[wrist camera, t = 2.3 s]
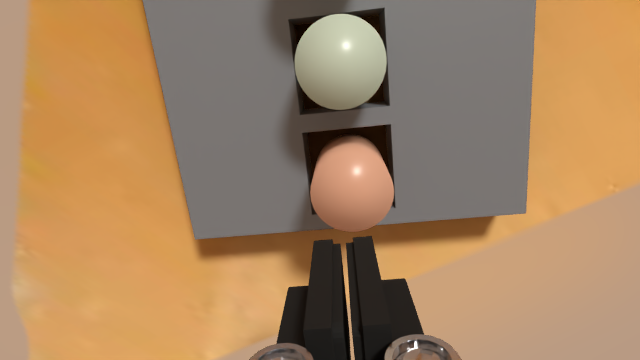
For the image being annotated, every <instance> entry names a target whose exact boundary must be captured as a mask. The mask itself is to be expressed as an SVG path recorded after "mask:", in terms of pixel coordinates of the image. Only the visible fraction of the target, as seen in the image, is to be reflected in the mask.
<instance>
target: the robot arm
mask: <svg viewBox="0 0 640 360" xmlns="http://www.w3.org/2000/svg"><path fill="white" fill-rule="evenodd" d="M346 249H347V264H348V279H349V294H350V309H351V323H352V335H353V346H354V355H355V360H462V359H461V358H460V356H459V355H458V353H457V352H456V351H455V350H454V349H453V348H452V347H451V346H450V345H449V344H448V343H446V342H444V341H443V340H441V339H438V338H435V337H433V336H429V335H424V333H423V330H422V327H421V324H420V321H419V318H418V315H417V312H416V309H415V306H414V303H413V300H412V297H411V294H410V291H409V288H408V285H407V282H406V280H405V279H391V280H381V276H380V272H379V267H378V263H377V258H376V254H375V249H374V245H373V240H372V236H367V237H355V238H353V243H346ZM249 360H351V355H350V337H349V325H348V315H347V304H346V295H345V285H344V275H343V265H342V255H341V246H340V244H333V239H331V240H319V241H314V245H313V253H312V261H311V270H310V278H309V286H298V287H289V288H288V292H287V296H286V301H285V306H284V311H283V315H282V320H281V325H280V330H279V334H278V339H277V344H275V345H271V346H268V347H266V348H264V349H262V350H260V351H258V352H257V353H256V354H255V355H254V356H252V357H251V358H250V359H249Z"/></svg>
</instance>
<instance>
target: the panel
mask: <svg viewBox="0 0 640 360" xmlns="http://www.w3.org/2000/svg"><path fill="white" fill-rule="evenodd" d="M143 4H144V9H145V13H146V18H147V22H148V27H149V32H150V36H151V41H152V45H153V50H154V54H155V59H156V63H157V68H158V73H159V77H160V82H161V86H162V91H163V95H164V100H165V105H166V109H167V114H168V118H169V123H170V127H171V132H172V137H173V141H174V146H175V150H176V155H177V159H178V164H179V168H180V173H181V178H182V182H183V187H184V191H185V196H186V200H187V205H188V210H189V214H190V219H191V223H192V228H193V232H194V237H195V239H207V238H220V237H232V236H245V235H258V234H270V233H283V232H296V231H309V230H321V229H334V228H333V227H331V226H329V225H328V224H326V223H325V222H324V221H323V220H322V219H321V218H320V217H319V216H318V215H317V213H316V212H315V210H314V208H313V205H312V202H311V196H310V190H311V184H312V179H313V176H312V168H311V159H310V151H309V142H308V134H307V132H316V131H327V130H337V129H347V128H357V127H367V126H377V125H385V126H386V143H387V160H388V172H389V174H390V176H391V179H392V182H393V186H394V198H393V202H392V206H391V208H390V210H389V212H388V213H387V215H386V216H385V217H384V218H383V219H382V220H381V221H380V222H379V223H378V224H376V225H385V224H397V223H410V222H423V221H435V220H448V219H461V218H473V217H486V216H499V215H512V214H524V213H526V201H527V180H528V159H529V138H530V117H531V96H532V75H533V54H534V33H535V11H536V0H143ZM334 14H349V15H353V16H356V17H365V16H373V15H379V26H380V37H381V39H382V41H383V44H384V47H385V51H386V57H387V65H386V72H385V75H384V78H383V93H384V101H379V102H370V103H363V104H361V105H359V106H357V107H354V108H351V109H345V110H335V109H329V108H326V107H322V108H312V109H305V108H304V100H303V91H302V88H301V86H300V84H299V82H298V79H297V76H296V71H295V54H296V49H297V40H296V32H295V25H300V24H308V23H315V22H316V21H318V20H320V19H322V18H324V17H326V16H329V15H334Z"/></svg>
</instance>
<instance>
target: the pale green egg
mask: <svg viewBox="0 0 640 360" xmlns="http://www.w3.org/2000/svg"><path fill="white" fill-rule="evenodd" d="M386 65H387V57H386V51H385V47H384V44H383V41H382V39H381V37H380V36H379V34H378V33H377V31H376V30H375V29H374V28H373V27H372V26H371V25H370V24H369V23H368V22H366V21H365V20H363V19H361V18H359V17H356V16H353V15H349V14H334V15H329V16H326V17H324V18H322V19H320V20H318V21H316V22H315V23H313V24H312V25H311V26H310V27H309V28H308V29H307V30H306V31H305V33H304V34H303V36H302V37H301V39H300V41H299V43H298V46H297V49H296V54H295V71H296V76H297V79H298V82H299V84H300V86H301V88H302V89H303V91H304V92H305V93H306V95H307V96H308V97H309V98H310V99H312V100H313V101H314V102H316V103H317V104H319V105H321V106H323V107H326V108H329V109H335V110H345V109H351V108H354V107H357V106H359V105H361V104H363V103H364V102H366V101H367V100H369V99H370V98H371V97H372V96H373V95H374V94H375V93H376V91H377V90H378V88H379V87H380V85H381V83H382V81H383V78H384V75H385V72H386Z"/></svg>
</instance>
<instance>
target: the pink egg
mask: <svg viewBox="0 0 640 360" xmlns="http://www.w3.org/2000/svg"><path fill="white" fill-rule="evenodd" d="M310 196H311V202H312V205H313V208H314V210H315V212H316V213H317V215H318V216H319V217H320V218H321V219H322V220H323V221H324V222H325V223H326V224H328V225H329V226H331V227H333V228H335V229H338V230H341V231H347V232H357V231H362V230H366V229H369V228H371V227H373V226H375V225H376V224H378V223H379V222H380V221H381V220H382V219H383V218H384V217H385V216H386V215H387V213H388V212H389V210H390V208H391V206H392V202H393V198H394V186H393V182H392V179H391V176H390V174H389V172H388V170H387V167H386V165H385V163H384V161H383V159H382V156H381V154H380V152H379V150H378V149H377V147H376V146H375V145H374V144H373V143H372V142H371V141H370V140H368V139H367V138H365V137H362V136H360V135H355V134H345V135H340V136H337V137H335V138H333V139H332V140H330V141H329V142H328V143H326V144H325V146H324V147H323V148H322V149H321V151H320V153H319V156H318V159H317V163H316V167H315V171H314V175H313V179H312V184H311V190H310Z"/></svg>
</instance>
